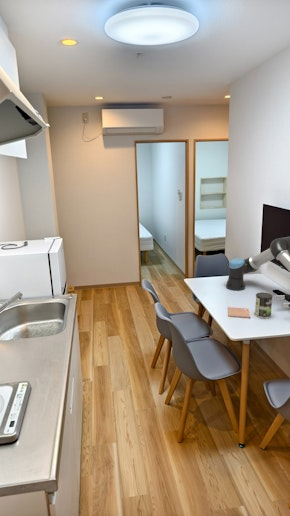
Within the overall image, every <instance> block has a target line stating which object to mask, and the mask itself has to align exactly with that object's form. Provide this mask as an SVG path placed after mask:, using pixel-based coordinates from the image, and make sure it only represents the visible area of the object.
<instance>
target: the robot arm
mask: <svg viewBox="0 0 290 516" xmlns="http://www.w3.org/2000/svg"><path fill="white" fill-rule="evenodd" d="M274 259H276V260H277V261H280V262H279V263H281V264H282V265H283V266H284V267H285V268H286V269H287V270H288V271H289V272H290V236H287V237H279V238H275V239H273V240H272V241H271V243H270V246H269V248H267V249H266V250H263V251H262V252H260V253H258V254H257V255H251V256H249V257H246V258H245V259H244V258H241V257H239V258H238V257H237V258H232V259H231V260H230V261H229V263H228V264H229V265H228V279H227V281H226V284H225V287H226V288H225V289H228V290H231V291H243V290H245V289H246V284H245V280H244V278H245V277H244V276H245V274H251V273H256V272H257V271H259V269H261V267H262V265H264V264H267V263H268V262H271V261H272V260H274ZM274 300H276V301H277V300H278V301H279V300H280V301H282V300H290V294H289V293H283V295H282V294H281V295H274ZM282 307H283V308H290V302H283V303H282Z"/></svg>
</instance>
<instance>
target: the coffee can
mask: <svg viewBox="0 0 290 516" xmlns="http://www.w3.org/2000/svg"><path fill="white" fill-rule="evenodd" d="M272 304H273V294H271V293H268V292H257V293H256V294H255V306H254V316H256V317H258V318H261V319H268V318H271V317H272V308H273V307H272V306H273V305H272Z"/></svg>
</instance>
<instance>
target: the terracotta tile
mask: <svg viewBox="0 0 290 516" xmlns="http://www.w3.org/2000/svg"><path fill="white" fill-rule="evenodd" d="M227 316H228V318H240V319H251V314H250V308H247V307H246V308H245V307H231V306H228V307H227Z"/></svg>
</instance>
